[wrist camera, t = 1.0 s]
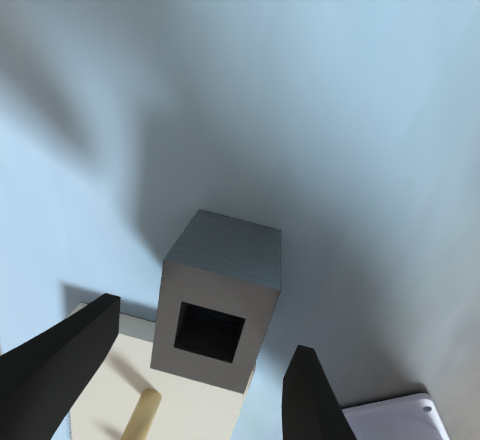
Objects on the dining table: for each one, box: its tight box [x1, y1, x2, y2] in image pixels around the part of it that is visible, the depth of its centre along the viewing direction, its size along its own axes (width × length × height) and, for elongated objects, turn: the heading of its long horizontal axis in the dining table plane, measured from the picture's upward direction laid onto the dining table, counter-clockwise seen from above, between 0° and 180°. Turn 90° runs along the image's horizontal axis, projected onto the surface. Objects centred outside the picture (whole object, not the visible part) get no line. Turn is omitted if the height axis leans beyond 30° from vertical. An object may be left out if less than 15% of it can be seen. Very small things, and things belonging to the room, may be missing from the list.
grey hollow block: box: [150, 209, 281, 394], centre depth 14 cm, size 6×4×5 cm
